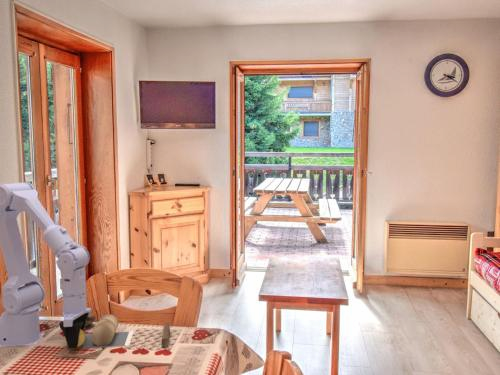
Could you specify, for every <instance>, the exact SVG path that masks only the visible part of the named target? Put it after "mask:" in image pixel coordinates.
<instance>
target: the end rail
mask: <svg viewBox="0 0 500 375" xmlns="http://www.w3.org/2000/svg"><path fill="white" fill-rule="evenodd" d="M170 323H171V322H164V323H163V328H162V335H161V348H162V349H166V348H169V340H170V332H171V331H170V329H171V327H170V326H171V324H170Z"/></svg>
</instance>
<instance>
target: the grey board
mask: <svg viewBox="0 0 500 375" xmlns="http://www.w3.org/2000/svg"><path fill="white" fill-rule="evenodd" d="M91 335H92V332H91V333H85V341H84V343H83V344H82V345H81V346H79V347H77V348H68V347H67V348H66V350H78V349H93V348H94V349H96V348H97V349H98V348H114V347H115V348H116V347H130V344H131V341H132V337H133V335H134V331H133V330H129V331H116V332H115V334H114V337H113V339H112V341H111V342H110V344H108V345H106V346H97V345H96V344H94V343H93V341H92V338H91Z"/></svg>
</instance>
